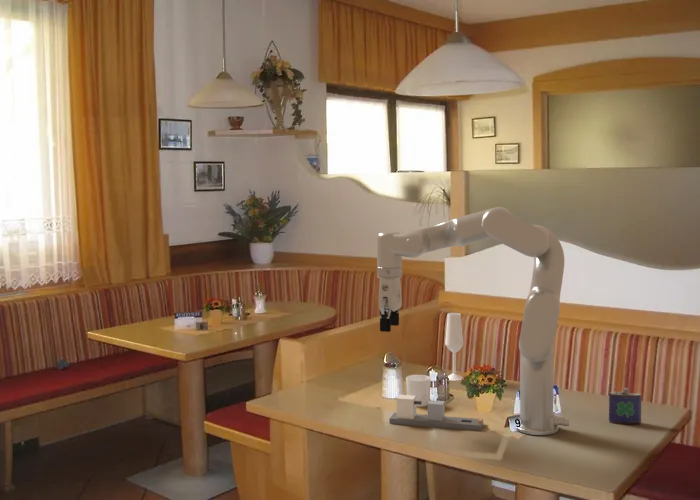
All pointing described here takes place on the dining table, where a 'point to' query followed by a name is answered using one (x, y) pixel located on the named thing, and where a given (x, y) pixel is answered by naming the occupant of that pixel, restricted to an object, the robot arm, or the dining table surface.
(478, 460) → the dining table surface
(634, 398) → the flask
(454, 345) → the champagne flute
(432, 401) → the grey block
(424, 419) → the strip
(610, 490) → the dining table surface
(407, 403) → the ivory charger
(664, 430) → the dining table surface
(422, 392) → the white cup
